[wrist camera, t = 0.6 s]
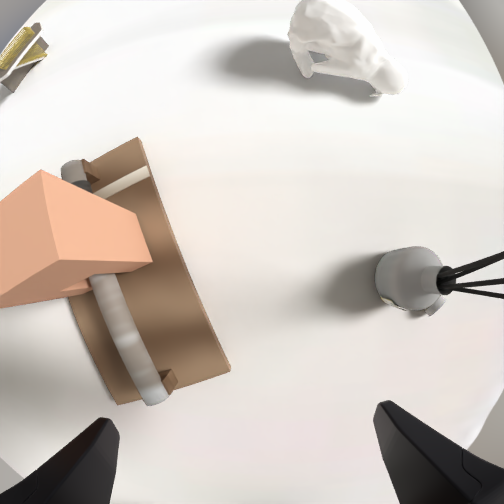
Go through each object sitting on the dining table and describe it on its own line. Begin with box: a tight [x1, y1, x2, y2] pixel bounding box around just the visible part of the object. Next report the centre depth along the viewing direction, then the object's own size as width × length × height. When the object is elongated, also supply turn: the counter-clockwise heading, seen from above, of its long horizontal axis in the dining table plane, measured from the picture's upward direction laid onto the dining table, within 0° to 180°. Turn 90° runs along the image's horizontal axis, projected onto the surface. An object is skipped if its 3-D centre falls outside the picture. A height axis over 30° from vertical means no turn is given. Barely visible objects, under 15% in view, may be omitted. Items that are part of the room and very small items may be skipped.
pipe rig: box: [61, 137, 231, 406], centre depth 20 cm, size 20×11×5 cm, turn 23°
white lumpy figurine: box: [288, 0, 408, 97], centre depth 19 cm, size 6×8×12 cm
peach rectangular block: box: [0, 170, 153, 308], centre depth 15 cm, size 4×7×12 cm, turn 113°
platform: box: [0, 23, 49, 92], centre depth 20 cm, size 12×18×7 cm, turn 151°
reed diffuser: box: [375, 246, 504, 316], centre depth 13 cm, size 10×7×20 cm
